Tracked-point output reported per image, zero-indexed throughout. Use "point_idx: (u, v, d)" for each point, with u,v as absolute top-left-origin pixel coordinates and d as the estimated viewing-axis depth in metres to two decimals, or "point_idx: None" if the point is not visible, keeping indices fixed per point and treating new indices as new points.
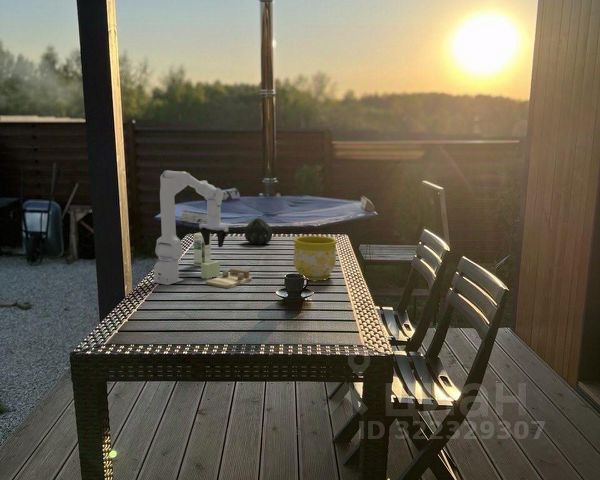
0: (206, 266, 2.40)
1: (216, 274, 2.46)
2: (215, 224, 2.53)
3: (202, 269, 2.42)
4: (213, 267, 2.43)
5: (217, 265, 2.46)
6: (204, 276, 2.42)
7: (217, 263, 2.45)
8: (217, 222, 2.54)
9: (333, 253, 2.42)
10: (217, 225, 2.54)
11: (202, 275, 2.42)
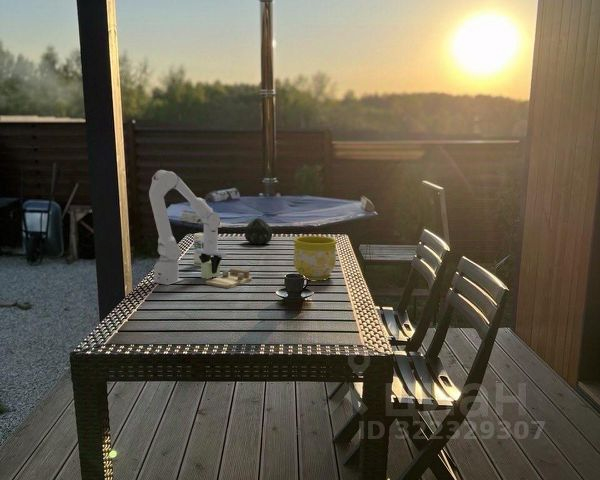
0: (206, 266, 2.40)
1: (216, 274, 2.46)
2: (212, 250, 2.41)
3: (202, 269, 2.42)
4: None
5: None
6: (204, 276, 2.42)
7: None
8: (214, 248, 2.41)
9: (333, 253, 2.42)
10: (214, 251, 2.41)
11: (202, 275, 2.42)
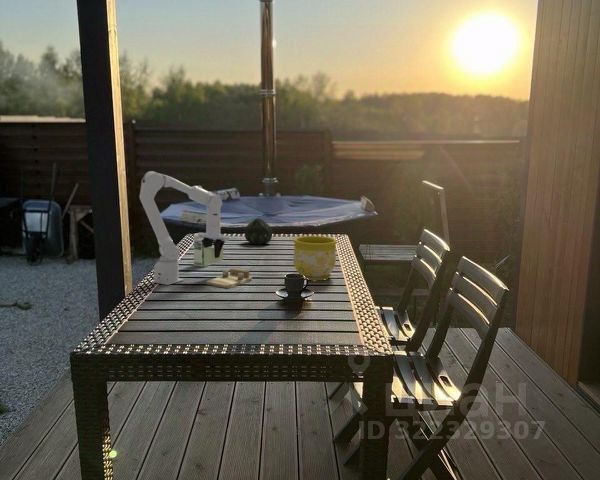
0: (209, 250, 2.37)
1: (219, 259, 2.42)
2: (215, 233, 2.37)
3: (205, 253, 2.38)
4: None
5: None
6: (207, 261, 2.38)
7: None
8: (217, 231, 2.37)
9: (333, 253, 2.42)
10: (217, 235, 2.38)
11: (205, 260, 2.39)
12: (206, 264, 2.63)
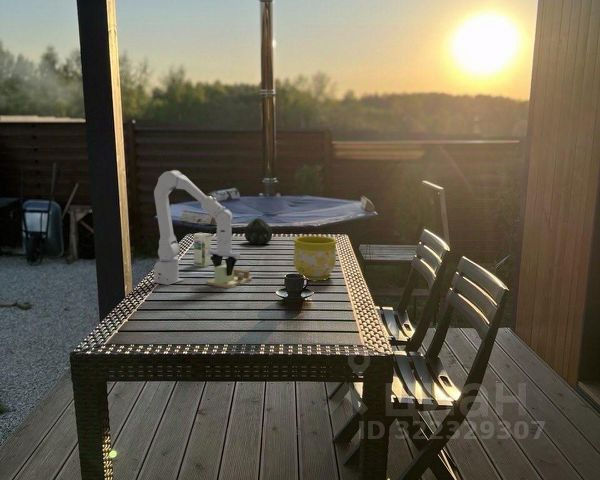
0: (220, 270, 2.29)
1: (230, 278, 2.34)
2: (226, 251, 2.29)
3: (215, 273, 2.30)
4: None
5: None
6: (218, 280, 2.30)
7: None
8: (228, 248, 2.29)
9: (333, 253, 2.42)
10: (228, 252, 2.29)
11: (215, 279, 2.31)
12: (206, 264, 2.63)
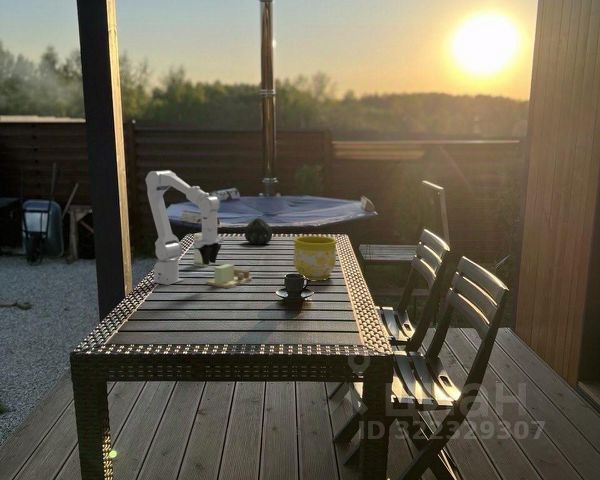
0: (220, 270, 2.29)
1: (230, 278, 2.34)
2: (202, 238, 2.21)
3: (215, 273, 2.30)
4: (227, 271, 2.32)
5: (231, 269, 2.34)
6: (218, 280, 2.30)
7: (231, 267, 2.34)
8: (203, 236, 2.21)
9: (333, 253, 2.42)
10: (203, 239, 2.21)
11: (215, 279, 2.31)
12: None
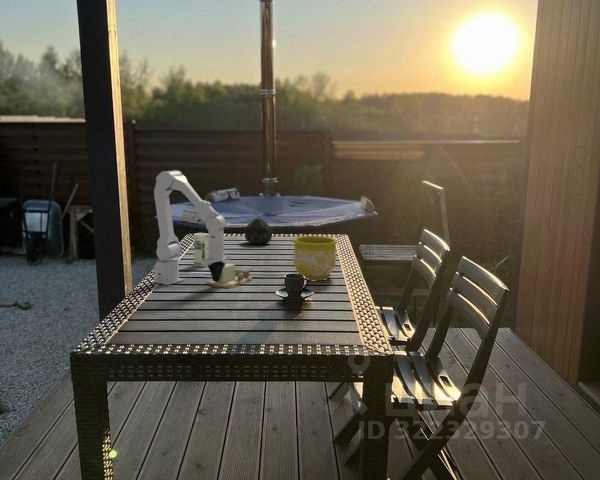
0: None
1: (231, 278, 2.35)
2: None
3: None
4: (228, 271, 2.33)
5: (232, 268, 2.35)
6: (219, 280, 2.31)
7: (232, 266, 2.35)
8: (209, 254, 2.25)
9: (333, 253, 2.42)
10: (209, 258, 2.25)
11: None
12: None
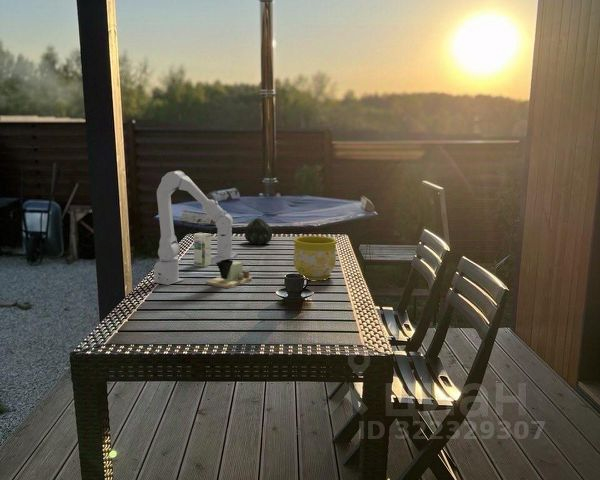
0: None
1: None
2: (217, 254, 2.31)
3: None
4: (236, 268, 2.37)
5: (240, 266, 2.39)
6: (227, 277, 2.35)
7: (240, 264, 2.39)
8: (218, 252, 2.30)
9: (333, 253, 2.42)
10: (218, 255, 2.30)
11: None
12: (206, 264, 2.63)
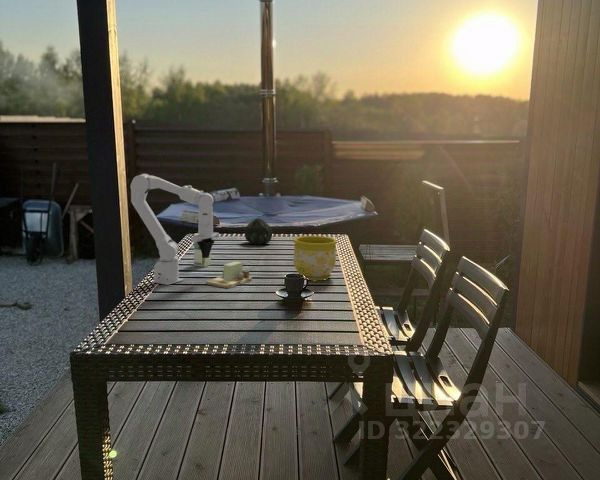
0: (229, 267, 2.34)
1: None
2: (198, 233, 2.32)
3: (225, 270, 2.35)
4: (236, 268, 2.37)
5: (240, 266, 2.39)
6: (227, 277, 2.35)
7: (240, 264, 2.39)
8: (199, 231, 2.31)
9: (333, 253, 2.42)
10: (199, 234, 2.31)
11: (225, 276, 2.35)
12: (206, 264, 2.63)
